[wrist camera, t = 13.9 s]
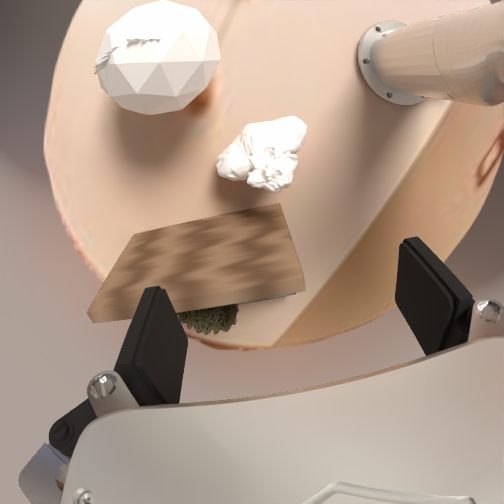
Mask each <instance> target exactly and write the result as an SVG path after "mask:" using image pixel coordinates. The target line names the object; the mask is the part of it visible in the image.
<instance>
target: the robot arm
mask: <svg viewBox="0 0 504 504" xmlns="http://www.w3.org/2000/svg"><path fill="white" fill-rule="evenodd" d="M375 29H376V30H377V31H376V30H375ZM363 60H364V61H365V64H364V62H363ZM358 63H359V67H360V70H361V73H362V75H363V77H364V79H365V81H366V82H367V84H368V85H369V86H370V88H371V89H372V90H373V91H374V92H375V93H376V94H377V95H379V96H380V97H382V98H383V99H385V100H387V101H389V102H391V103H395V104H399V105H413V104H417V103H419V102H421V101H423V100H424V99H425V98H427V97H431V98H439V99H445V100H452V101H458V102H463V103H469V104H474V105H479V106H495V105H498V104H501V103H503V102H504V0H503V1H500V2H498V3H494V4H491V5H487V6H484V7H481V8H476V9H472V10H468V11H463V12H459V13H454V14H449V15H445V16H440V17H436V18H432V19H428V20H424V21H421V22H417V23H413V24H410V25H407V24H404V23H402V22H397V21H383V22H379V23H377V24H374V25H373V26H371V27H370V28H368V29H367V30H366V31H365V33H364V34H363V35H362V37H361V39H360V42H359V46H358ZM387 94H388V96H387ZM472 297H473V296H472V295H471V293H470V292H469V291H468V290H467V289H466V288H465V286H464V285H463V284H462V283H461V282H460V281H459V280H458V279H457V277H456V276H455V275H454V274H453V273H452V272H451V271H450V270H449V269H448V268H447V266H446V265H445V264H444V263H443V262H442V261H441V260H440V259H439V258H438V257H437V256H436V255H435V254H434V253H433V252H432V251H431V249H430V248H429V247H428V246H427V245H426V244H425V243H424V242H423V241H422V240H421V239H420V238H419V237H411V238H407V239H404V240H403V243H401V244H400V246H399V260H398V272H397V283H396V292H395V301H396V304H397V306H398V308H399V309H400V311H401V313H402V314H403V316H404V318H405V319H406V321H407V323H408V325H409V326H410V328H411V330H412V331H413V333H414V335H415V336H416V339H417V340H418V342H419V344H420V346H421V347H422V349H423V351H424V353H425V355H426V356H425V357H422V358H419V359H416V360H412V361H409V362H406V363H403V364H400V365H397V366H393V367H390V368H386V369H383V370H379V371H376V372H372V373H368V374H364V375H360V376H356V377H353V378H348V379H344V380H340V381H336V382H331V383H327V384H322V385H317V386H313V387H307V388H302V389H296V390H291V391H285V392H279V393H273V394H267V395H259V396H252V397H245V398H236V399H227V400H217V401H206V402H195V403H181V404H179V400H180V393H181V386H182V379H183V373H184V366H185V360H186V353H187V347H188V339H187V336H186V334H185V331H184V329H183V327H182V325H181V323H180V321H179V319H178V316H177V314H176V312H175V310H174V307H173V305H172V303H171V301H170V298H169V296H168V294H167V292H166V290H165V289H164V288H163V289H161V287H160V286H153V287H147V288H145V289H144V291H143V294H142V296H141V299H140V301H139V304H138V306H137V309H136V311H135V314H134V316H133V319H132V322H131V324H130V326H129V329H128V331H127V334H126V337H125V340H124V342H123V345H122V348H121V351H120V354H119V356H118V359H117V362H116V365H115V368H114V371H111V370H110V371H109V370H107V371H103V372H101V373H98V374H97V375H96V376H94V377H93V378H92V380H91V381H90V382H89V384H88V387H87V395H88V399H87V400H85V401H84V402H82V403H81V404H80V405H78V406H77V407H76V408H74V409H73V410H71V411H70V412H69V413H67V414H66V415H64V416H63V417H62V418H60V419H59V420H57V421H56V422H55V423H54V424H53V425H52V427H51V429H50V432H49V442H50V443H49V444H48V445H47V444H46V443H44V444H43V445H42V447H41V448H40V449H39V450H38V451H37V453H36V454H35V455H34V456H33V457H32V459H31V460H30V461H29V462H28V464H27V465H26V466H25V467H24V469H23V470H22V471H21V473H20V475H19V479H18V481H19V486H20V488H21V490H22V491H23V493H24V494H25V495H26V497H27V498H28V499H29V501H30V502H31V504H504V306H503V305H502V304H501V303H499V302H498V301H496V300H493V299H490V298H483V299H480V300H478V301H476V302H475V301H474V300H473V299H472Z"/></svg>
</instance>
